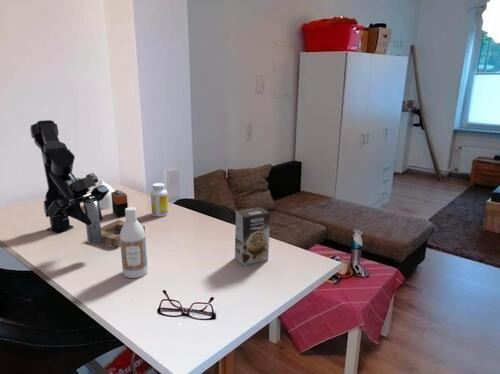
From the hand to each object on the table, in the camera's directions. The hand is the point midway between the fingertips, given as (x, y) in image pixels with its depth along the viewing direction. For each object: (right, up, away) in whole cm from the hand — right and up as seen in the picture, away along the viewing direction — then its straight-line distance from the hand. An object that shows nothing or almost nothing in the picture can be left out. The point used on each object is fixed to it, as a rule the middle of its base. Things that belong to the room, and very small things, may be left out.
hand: (96, 222), depth 114 cm
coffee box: (+47, -12, +5) cm, 49 cm away
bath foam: (+13, -15, -4) cm, 20 cm away
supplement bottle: (+10, -1, +42) cm, 43 cm away
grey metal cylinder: (-1, -6, +2) cm, 7 cm away
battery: (-7, -1, +41) cm, 42 cm away
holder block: (0, -7, +20) cm, 21 cm away
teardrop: (-18, +3, +52) cm, 55 cm away
